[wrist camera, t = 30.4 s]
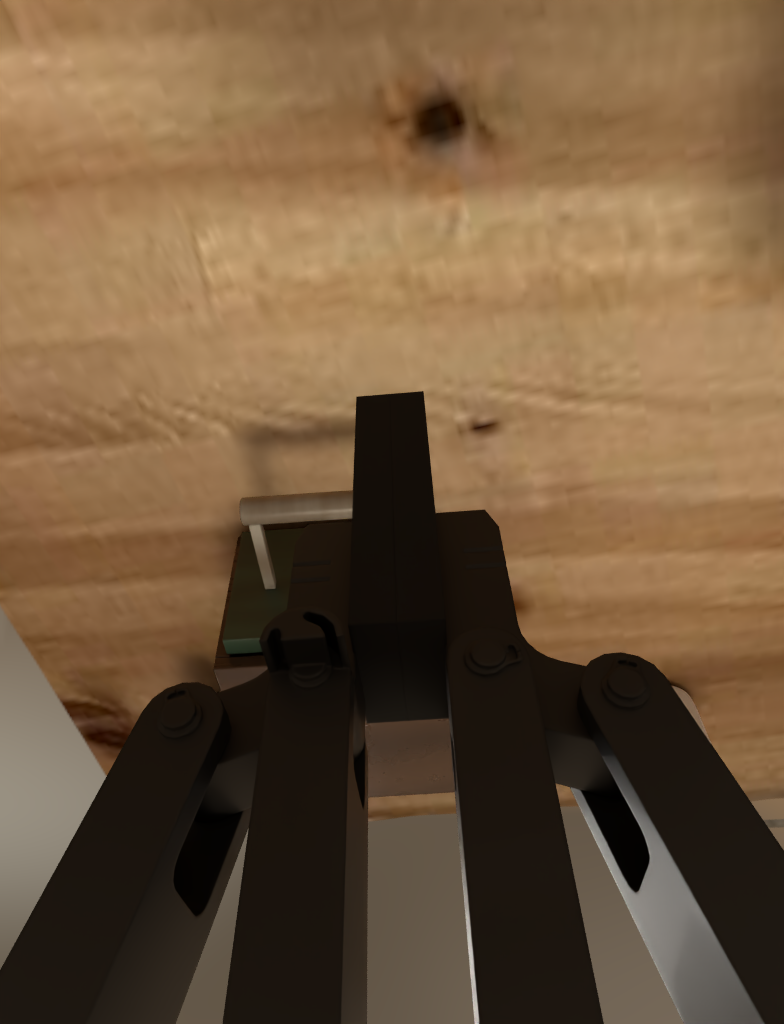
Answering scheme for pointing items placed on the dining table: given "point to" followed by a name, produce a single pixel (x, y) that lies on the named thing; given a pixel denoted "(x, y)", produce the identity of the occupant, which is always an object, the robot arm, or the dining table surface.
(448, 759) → the cabinet
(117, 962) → the robot arm
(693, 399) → the dining table surface
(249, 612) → the drawer
